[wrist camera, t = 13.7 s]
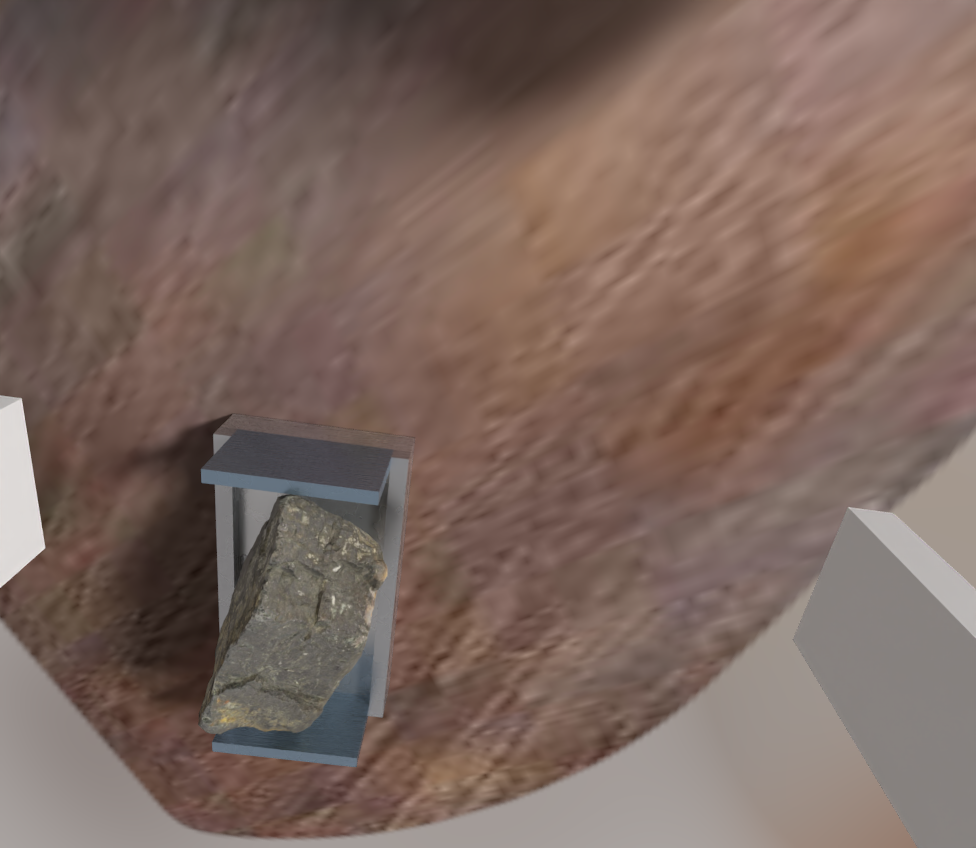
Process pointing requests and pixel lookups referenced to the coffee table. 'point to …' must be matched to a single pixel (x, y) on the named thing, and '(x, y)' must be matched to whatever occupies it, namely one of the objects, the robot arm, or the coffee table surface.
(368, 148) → the coffee table surface
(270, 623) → the rock
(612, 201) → the coffee table surface
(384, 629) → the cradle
